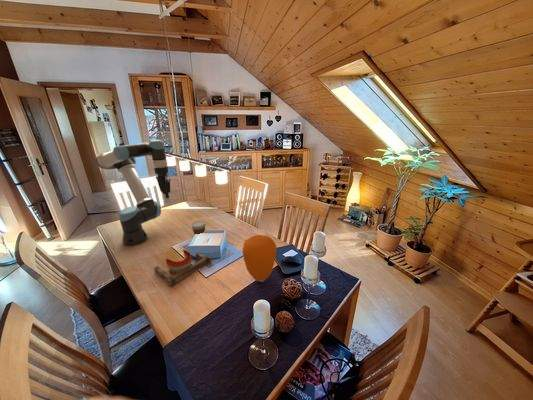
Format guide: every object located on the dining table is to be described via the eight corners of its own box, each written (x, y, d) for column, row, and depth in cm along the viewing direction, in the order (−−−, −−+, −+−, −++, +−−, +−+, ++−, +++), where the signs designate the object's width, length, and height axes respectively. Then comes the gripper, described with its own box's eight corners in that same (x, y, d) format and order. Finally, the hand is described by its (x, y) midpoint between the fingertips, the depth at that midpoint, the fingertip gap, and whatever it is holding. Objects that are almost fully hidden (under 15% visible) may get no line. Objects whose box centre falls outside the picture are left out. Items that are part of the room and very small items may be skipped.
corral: (153, 274, 124) (152, 268, 123) (193, 252, 144) (192, 247, 142) (170, 287, 115) (169, 281, 113) (210, 262, 134) (210, 256, 132)
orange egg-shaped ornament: (246, 268, 128) (244, 230, 119) (276, 269, 127) (276, 230, 118) (242, 291, 112) (239, 248, 103) (276, 291, 111) (276, 248, 102)
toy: (178, 279, 121) (176, 266, 118) (167, 271, 126) (164, 260, 124) (197, 266, 130) (195, 255, 127) (186, 260, 136) (184, 249, 133)
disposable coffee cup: (203, 243, 154) (201, 227, 149) (190, 241, 155) (188, 226, 151) (209, 236, 162) (207, 221, 158) (197, 234, 164) (195, 220, 160)
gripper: (149, 166, 137) (156, 202, 146) (160, 169, 130) (167, 206, 138) (160, 164, 143) (167, 198, 151) (172, 166, 135) (178, 203, 144)
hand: (167, 202), depth 145 cm, fingers closed
